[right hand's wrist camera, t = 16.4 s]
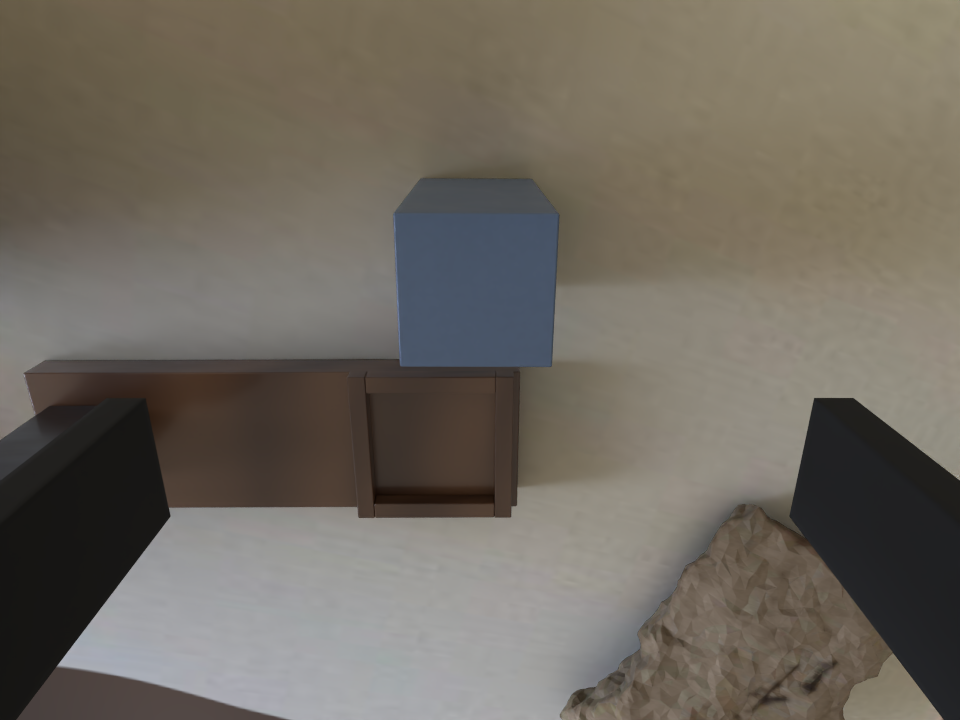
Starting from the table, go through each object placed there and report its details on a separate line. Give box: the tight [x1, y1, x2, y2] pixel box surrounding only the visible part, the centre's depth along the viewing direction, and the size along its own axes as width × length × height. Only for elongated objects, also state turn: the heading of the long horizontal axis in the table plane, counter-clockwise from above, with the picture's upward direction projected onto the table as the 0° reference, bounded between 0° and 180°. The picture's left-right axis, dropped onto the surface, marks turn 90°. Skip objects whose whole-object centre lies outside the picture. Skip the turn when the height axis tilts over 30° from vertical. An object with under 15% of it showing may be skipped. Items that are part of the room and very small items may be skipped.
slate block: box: [393, 178, 559, 367], centre depth 30 cm, size 6×6×12 cm
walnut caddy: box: [0, 360, 520, 518], centre depth 35 cm, size 28×9×10 cm, turn 90°
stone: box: [560, 504, 893, 720], centre depth 43 cm, size 21×15×6 cm
